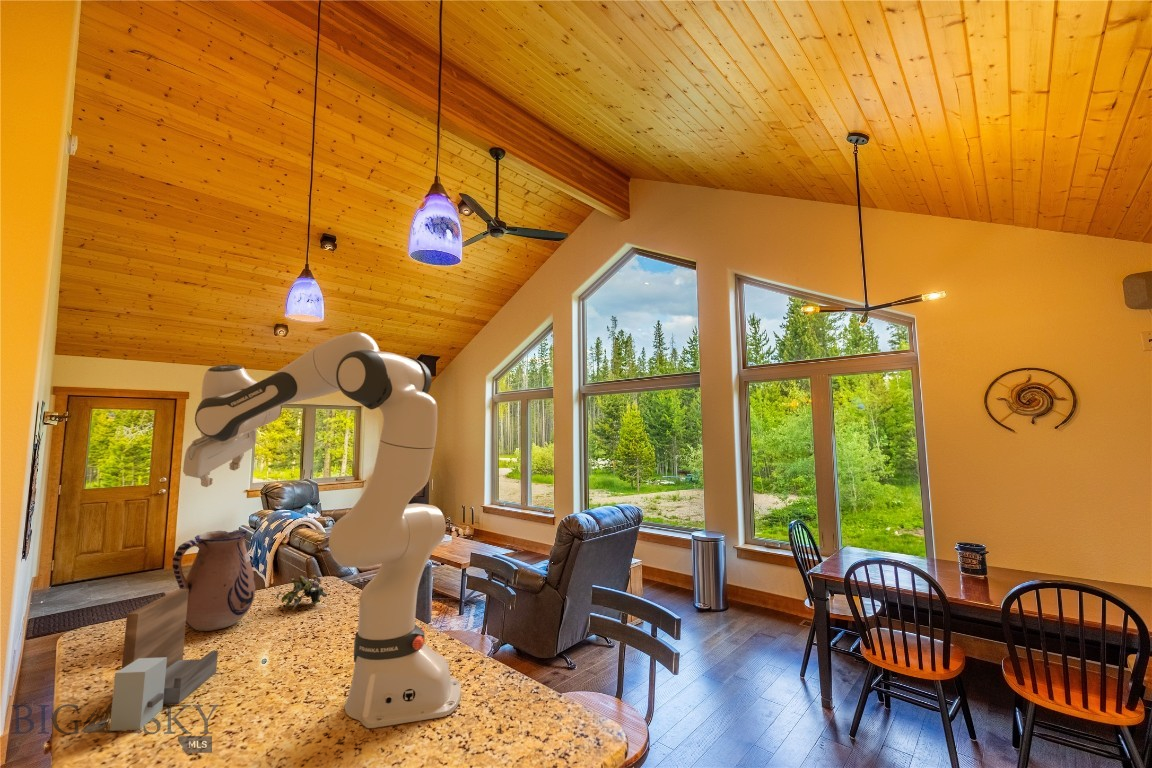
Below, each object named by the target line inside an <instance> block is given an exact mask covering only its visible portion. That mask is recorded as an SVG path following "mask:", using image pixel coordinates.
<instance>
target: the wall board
mask: <svg viewBox="0 0 1152 768" xmlns="http://www.w3.org/2000/svg"><path fill="white" fill-rule="evenodd" d="M188 592H189V589H180V588H179V589H176V590H174V591H172V592H170V593H168V594H166V595H163V596H162V597H160V598H158V599H155V600H154V601H152V602H149V603H148V604H146V605H143V606H141V607H139V608H137V609H135V610H133V611H131V612H129V613H127V614H126V622H125V631H124V644H123V651H122V652H123V653H122V662H121V669H123V668H124V667H126V666H127V665H129V664H131V663H132V662H134V661H135V660H137V659H139V658H162V657H167V663H166V675H165V686H164V697H163V705H175V704H176V705H177V704H180V703H182V702H183V701H184V700H185V699H186V698H187V697H189V696H190V695H191V694H193V692H195V691H196V690H197V689H199V688H200V687H201V686H202V685H203V684H204V683H206V682H207V681H208V680H210V678H212V677H213V676H214V675H215V674H216V673H217V670H218V669H217V667H218V656H219V650H216V649H214V650H211V651H209V652H208V653H206V654H205V655H204V656H203V657H201V658H198V659H184V650H185V649H184V648H185V647H184V646H185V639H186V638H185V636H186V628H187V627H186V626H187V625H186V615H187V603H188Z"/></svg>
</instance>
